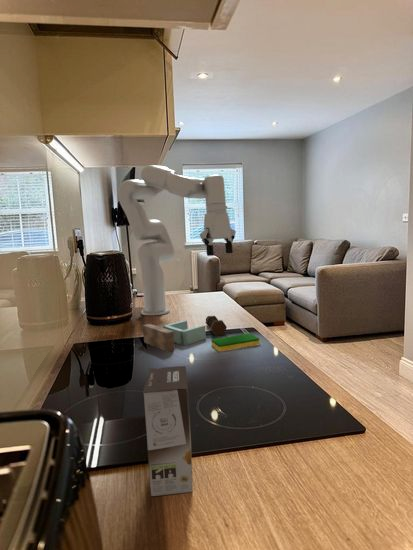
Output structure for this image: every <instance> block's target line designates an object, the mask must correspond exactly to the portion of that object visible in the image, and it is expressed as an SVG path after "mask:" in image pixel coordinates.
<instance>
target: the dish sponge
mask: <svg viewBox="0 0 413 550" xmlns="http://www.w3.org/2000/svg"><path fill="white" fill-rule="evenodd" d="M257 344H260V337H257V336H256V335H253V334H252V333H251V332H249V333H241V334H236V335H231V336H224V337H218V338H212V339H211V346H212V347H213V348H214V349H215V350H217V351H218V352H220V351H221V352H225V351H226V350H227V351H231V350H230V349H232V350H236V349H235V348H238V349H242V348H241V347H244V348H248V347H247V346H250V347H253V346H252V345H255V346H258V345H257ZM260 345H261V344H260Z"/></svg>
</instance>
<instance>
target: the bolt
mask: <svg viewBox="0 0 413 550" xmlns="http://www.w3.org/2000/svg"><path fill="white" fill-rule="evenodd" d="M205 324H206V325H207V327H208V328H209V329H210V331H211V333H212V334H213V335H214V336H223V335H224V334H225V332H226V330H227V329H228V328H227V327H228V326H227V325H226V324H225V322H224V321H223V319H218V318H217V316H216V315H207V317H205Z"/></svg>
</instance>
